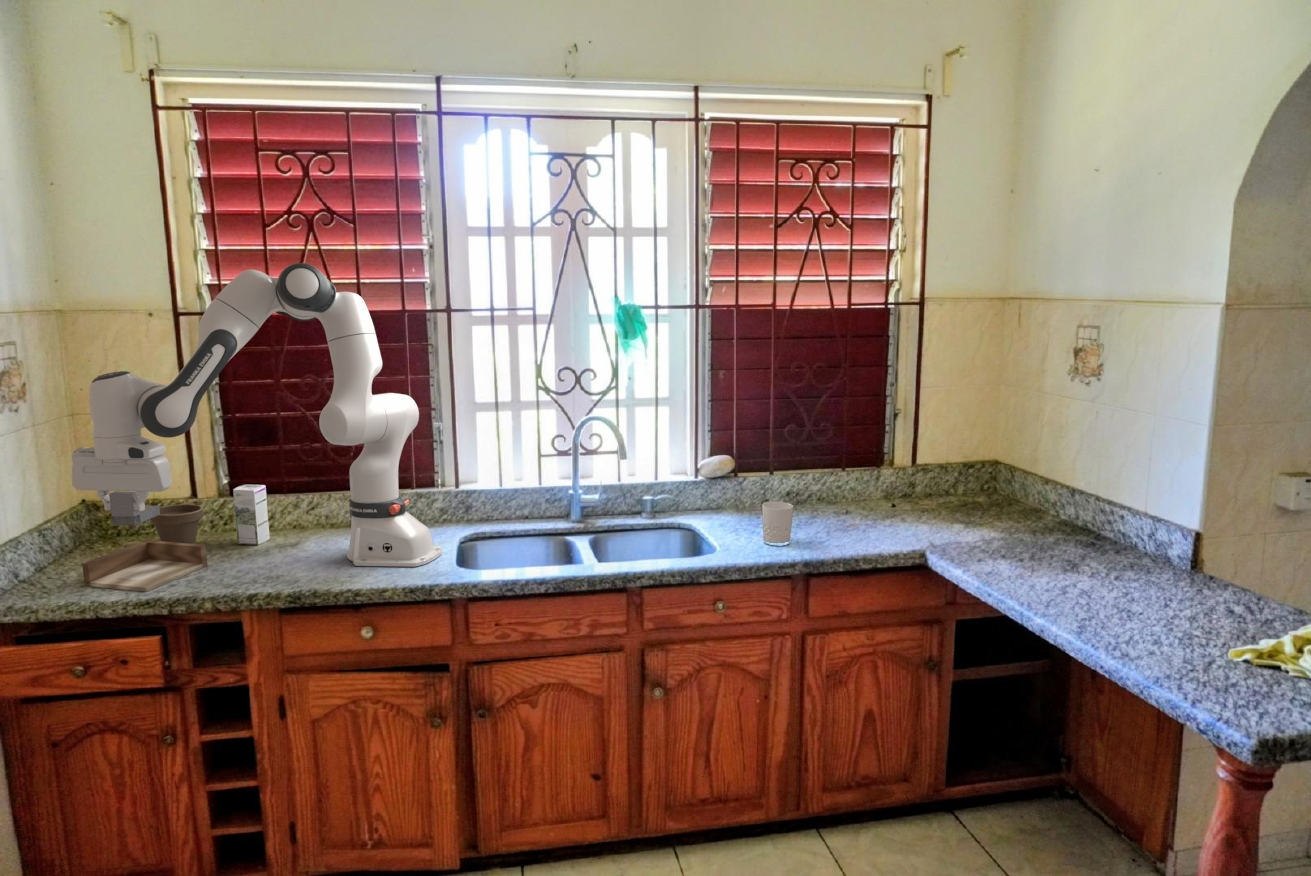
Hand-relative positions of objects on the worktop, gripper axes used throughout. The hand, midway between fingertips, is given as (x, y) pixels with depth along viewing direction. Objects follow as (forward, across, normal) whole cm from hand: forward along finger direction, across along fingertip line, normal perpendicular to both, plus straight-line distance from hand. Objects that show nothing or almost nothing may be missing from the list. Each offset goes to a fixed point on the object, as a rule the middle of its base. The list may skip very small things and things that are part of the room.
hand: (125, 510), depth 188 cm
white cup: (+16, +145, +38) cm, 151 cm away
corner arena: (+16, +1, +4) cm, 17 cm away
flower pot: (+16, -4, +24) cm, 30 cm away
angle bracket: (+3, 0, +4) cm, 5 cm away
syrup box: (+16, +12, +31) cm, 37 cm away
